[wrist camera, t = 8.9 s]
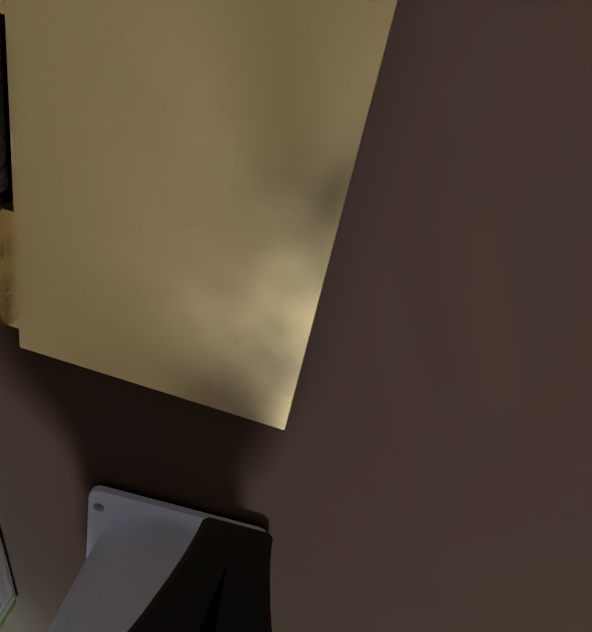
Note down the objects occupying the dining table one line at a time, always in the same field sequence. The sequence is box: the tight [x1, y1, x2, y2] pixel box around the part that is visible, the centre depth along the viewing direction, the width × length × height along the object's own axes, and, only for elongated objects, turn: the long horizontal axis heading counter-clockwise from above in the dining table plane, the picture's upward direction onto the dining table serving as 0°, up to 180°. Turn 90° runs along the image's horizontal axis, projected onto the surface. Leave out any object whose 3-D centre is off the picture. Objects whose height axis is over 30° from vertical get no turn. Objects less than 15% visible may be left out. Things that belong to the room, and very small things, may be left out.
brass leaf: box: [0, 0, 399, 430], centre depth 16 cm, size 13×16×2 cm
